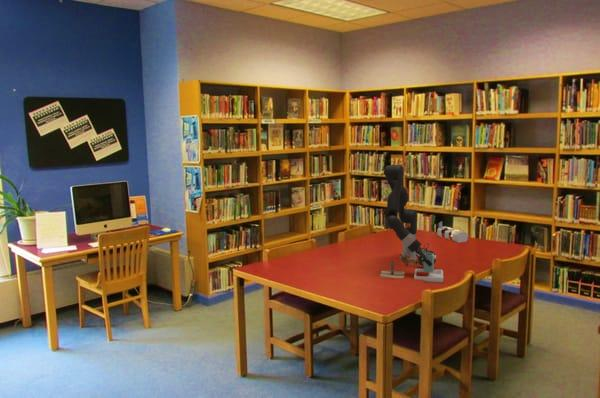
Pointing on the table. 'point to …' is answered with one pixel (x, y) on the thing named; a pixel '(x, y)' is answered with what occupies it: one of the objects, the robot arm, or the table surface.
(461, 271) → the table surface
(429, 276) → the tray
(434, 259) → the alarm clock
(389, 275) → the stake base
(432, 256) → the blue grey tall block
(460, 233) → the white black banded cylinder
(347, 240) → the table surface
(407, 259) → the lion figurine
